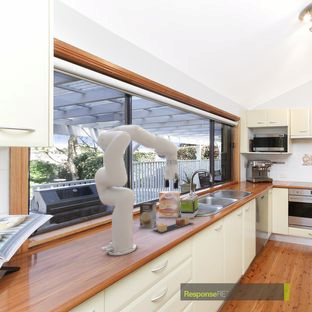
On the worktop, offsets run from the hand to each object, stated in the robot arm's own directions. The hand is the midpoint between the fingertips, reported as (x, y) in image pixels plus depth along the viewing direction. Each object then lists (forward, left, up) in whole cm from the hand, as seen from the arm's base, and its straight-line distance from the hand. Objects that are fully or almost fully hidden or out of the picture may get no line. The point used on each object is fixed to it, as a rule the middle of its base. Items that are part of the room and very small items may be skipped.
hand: (171, 187), depth 148 cm
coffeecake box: (+15, +23, -26) cm, 38 cm away
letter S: (+5, -3, -26) cm, 26 cm away
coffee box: (-10, +12, -26) cm, 31 cm away
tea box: (+26, +12, -26) cm, 39 cm away
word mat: (0, -3, -26) cm, 26 cm away
